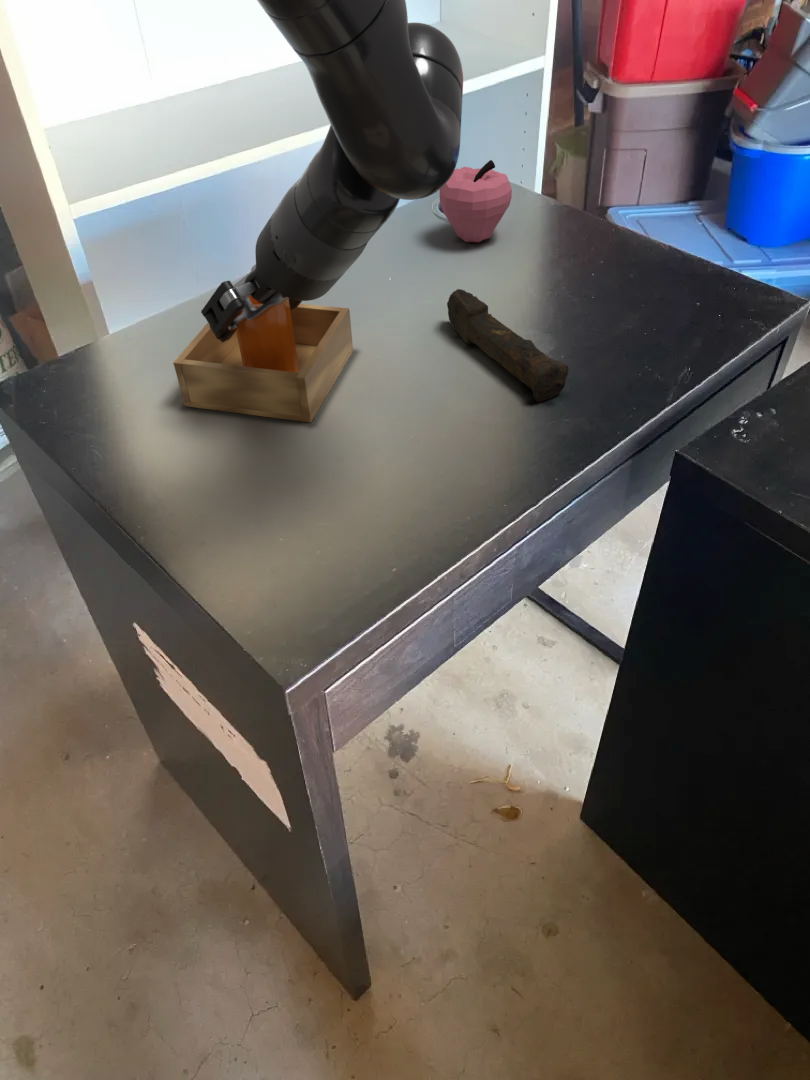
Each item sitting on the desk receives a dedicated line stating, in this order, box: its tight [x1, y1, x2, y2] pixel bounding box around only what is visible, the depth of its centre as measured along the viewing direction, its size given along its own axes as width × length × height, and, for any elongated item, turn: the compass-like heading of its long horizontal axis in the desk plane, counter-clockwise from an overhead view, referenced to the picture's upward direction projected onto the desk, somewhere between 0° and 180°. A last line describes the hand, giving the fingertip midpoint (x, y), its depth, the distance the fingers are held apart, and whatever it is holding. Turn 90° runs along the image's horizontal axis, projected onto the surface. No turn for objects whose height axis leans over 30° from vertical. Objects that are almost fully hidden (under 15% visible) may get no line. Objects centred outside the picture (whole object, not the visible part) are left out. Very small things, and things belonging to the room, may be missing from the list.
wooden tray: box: [172, 303, 354, 423], centre depth 85 cm, size 14×14×5 cm
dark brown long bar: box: [446, 288, 569, 403], centre depth 86 cm, size 19×4×5 cm, turn 28°
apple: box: [439, 159, 513, 243], centre depth 106 cm, size 10×9×10 cm
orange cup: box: [236, 296, 299, 373], centre depth 83 cm, size 6×6×9 cm
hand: (253, 316), depth 83 cm, fingers open, 8 cm apart
